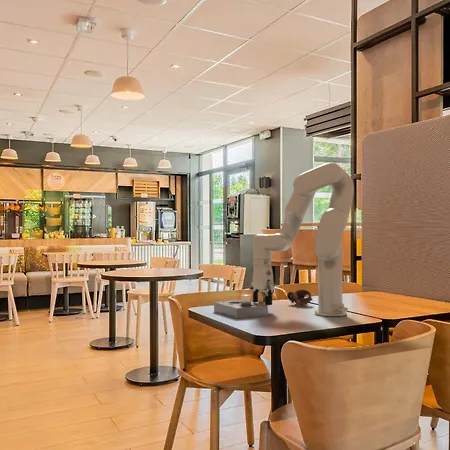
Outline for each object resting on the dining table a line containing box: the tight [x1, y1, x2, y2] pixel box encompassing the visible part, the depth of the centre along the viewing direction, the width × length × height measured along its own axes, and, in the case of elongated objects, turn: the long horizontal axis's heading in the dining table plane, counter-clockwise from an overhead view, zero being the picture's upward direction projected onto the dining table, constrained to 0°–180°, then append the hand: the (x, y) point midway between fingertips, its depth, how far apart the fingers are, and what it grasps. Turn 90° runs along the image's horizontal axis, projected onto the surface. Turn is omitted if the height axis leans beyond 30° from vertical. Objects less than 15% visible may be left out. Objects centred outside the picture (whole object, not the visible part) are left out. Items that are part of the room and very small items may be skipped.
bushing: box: [257, 290, 266, 305], centre depth 200 cm, size 4×4×8 cm
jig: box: [213, 294, 269, 320], centre depth 192 cm, size 20×14×8 cm
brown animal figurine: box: [286, 289, 313, 307], centre depth 215 cm, size 12×10×8 cm
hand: (262, 303), depth 200 cm, fingers open, 9 cm apart
